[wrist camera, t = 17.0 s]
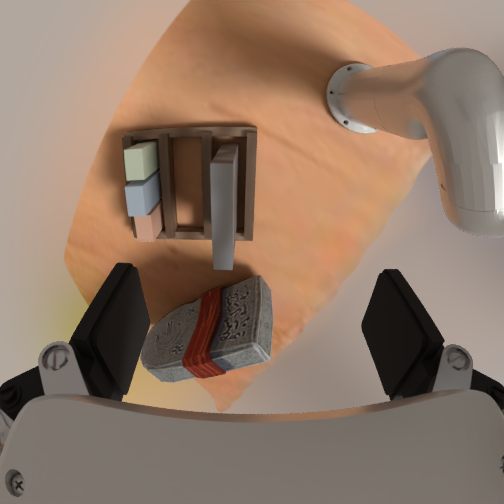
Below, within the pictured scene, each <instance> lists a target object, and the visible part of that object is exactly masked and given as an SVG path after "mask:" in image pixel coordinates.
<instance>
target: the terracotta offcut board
mask: <svg viewBox="0 0 504 504" xmlns="http://www.w3.org/2000/svg"><path fill="white" fill-rule="evenodd" d="M134 220H135V226H136V233H137V238H138V241H143V242H154V241H155V239H156V238H157V236H158V234H159V233H160V231H161V230H162V228H163V226H164V225H165V220H164V210H163V200H159V201H158V202H157V203H156V205H155V206H154V207H153V208H152V209H151V211H150V212H149V213H148V214H147V216H134Z"/></svg>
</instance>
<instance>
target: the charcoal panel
mask: <svg viewBox="0 0 504 504" xmlns="http://www.w3.org/2000/svg"><path fill="white" fill-rule="evenodd" d="M210 180H211V219H212V245H213V266H214V270H233V260H234V249H235V238H236V228H237V196H238V143H223V144H222V146H221V147H220V149H219V151H218V152H217V154H216V155H215V157H214V158H213V160H212V161H211V163H210Z"/></svg>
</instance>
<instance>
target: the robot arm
mask: <svg viewBox="0 0 504 504" xmlns="http://www.w3.org/2000/svg"><path fill="white" fill-rule="evenodd" d="M347 68H349V71H348V70H347ZM330 91H331V92H332V94H330ZM326 100H327V104H328V108H329V110H330V112H331V114H332V115H333V117H334V118H335V120H336V121H337V122H338V123H339V124H340V125H342V126H343V127H345V128H346V129H348V130H350V131H353V132H356V133H361V134H370V133H374V132H377V131H379V130H381V131H385V132H388V133H391V134H395V135H398V136H401V137H404V138H407V139H412V140H423V139H427V138H428V140H429V144H430V148H431V152H432V154H433V158H434V163H435V167H436V173H437V178H438V183H439V189H440V195H441V200H442V205H443V209H444V212H445V214H446V216H447V218H448V220H449V221H450V222H451V223H452V224H453V225H454V226H455V227H456V228H458V229H459V230H461V231H463V232H466V233H468V234H472V235H476V236H483V237H501V238H502V237H503V238H504V77H503V75H502V73H501V71H500V70H499V68H498V67H497V65H496V64H495V63H494V62H493V61H492V60H491V59H490V58H489V57H488V56H487V55H485V54H483V53H482V52H479V51H477V50H474V49H470V48H451V49H446V50H442V51H439V52H436V53H434V54H431V55H429V56H427V57H424V58H422V59H419V60H416V61H411V62H406V63H400V64H394V65H388V66H383V67H377V68H373V67H372V66H369V65H366V64H360V63H356V64H349V65H346V66H343V67H341V68H340V69H338V70H337V71H336V72H335V73H334V74H333V75H332V76H331V78H330V80H329V82H328V85H327V90H326ZM344 121H345V123H344ZM149 326H150V319H149V315H148V311H147V307H146V303H145V299H144V295H143V291H142V287H141V283H140V278H139V274H138V270H137V268H136V267H133V265H132V264H131V263H117V264H116V265H115V267H114V268H113V270H112V271H111V273H110V274H109V276H108V277H107V279H106V280H105V282H104V283H103V285H102V286H101V288H100V290H99V291H98V293H97V294H96V296H95V298H94V299H93V301H92V302H91V304H90V306H89V308H88V309H87V311H86V312H85V314H84V316H83V318H82V319H81V321H80V323H79V325H78V326H77V328H76V330H75V332H74V333H73V335H72V337H71V340H70V341H69V343H66V342H63V341H62V342H61V341H57V342H53V343H51V344H49V345H47V346H46V347H45V348H44V349H43V350H42V352H41V353H40V356H39V359H38V364H39V366H37V367H35V368H33V369H31V370H29V371H26V372H24V373H22V374H20V375H18V376H16V377H14V378H12V379H10V380H8V381H7V382H5V383H3V384H2V386H1V387H0V504H504V387H503V385H501V384H500V383H499V382H497V381H495V380H493V379H491V378H490V377H488V376H486V375H484V374H482V373H480V372H478V371H476V370H474V369H473V361H472V357H471V356H470V354H469V353H468V351H466V350H465V349H464V348H462V347H461V346H458V345H455V344H451V345H448V346H446V347H445V348H444V346H443V342H444V341H445V340H444V338H443V337H442V335H441V333H440V332H439V330H438V328H437V327H436V325H435V323H434V322H433V320H432V319H431V317H430V315H429V314H428V313H427V311H426V309H425V308H424V306H423V305H422V303H421V302H420V300H419V299H418V297H417V296H416V294H415V293H414V291H413V290H412V288H411V287H410V285H409V284H408V282H407V281H406V280H405V278H404V277H403V275H402V274H401V272H400V271H399V270H398V269H385V270H384V271H383V272H382V273H380V274H379V276H378V279H377V282H376V285H375V288H374V291H373V293H372V297H371V299H370V302H369V305H368V307H367V310H366V313H365V315H364V318H363V321H362V326H361V327H362V332H363V334H364V337H365V339H366V342H367V345H368V347H369V350H370V352H371V355H372V358H373V360H374V363H375V366H376V369H377V371H378V374H379V377H380V380H381V383H382V386H383V388H384V391H385V393H386V395H389V397H390V400H391V401H389V402H384V403H379V404H372V405H366V406H360V407H353V408H346V409H338V410H329V411H318V412H306V413H290V414H223V413H205V412H193V411H183V410H174V409H166V408H158V407H152V406H145V405H138V404H132V403H127V402H121V401H122V398H123V395H126V394H127V393H128V391H129V387H130V384H131V381H132V377H133V374H134V371H135V368H136V365H137V362H138V359H139V356H140V353H141V350H142V347H143V344H144V341H145V338H146V335H147V332H148V330H149Z"/></svg>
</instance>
